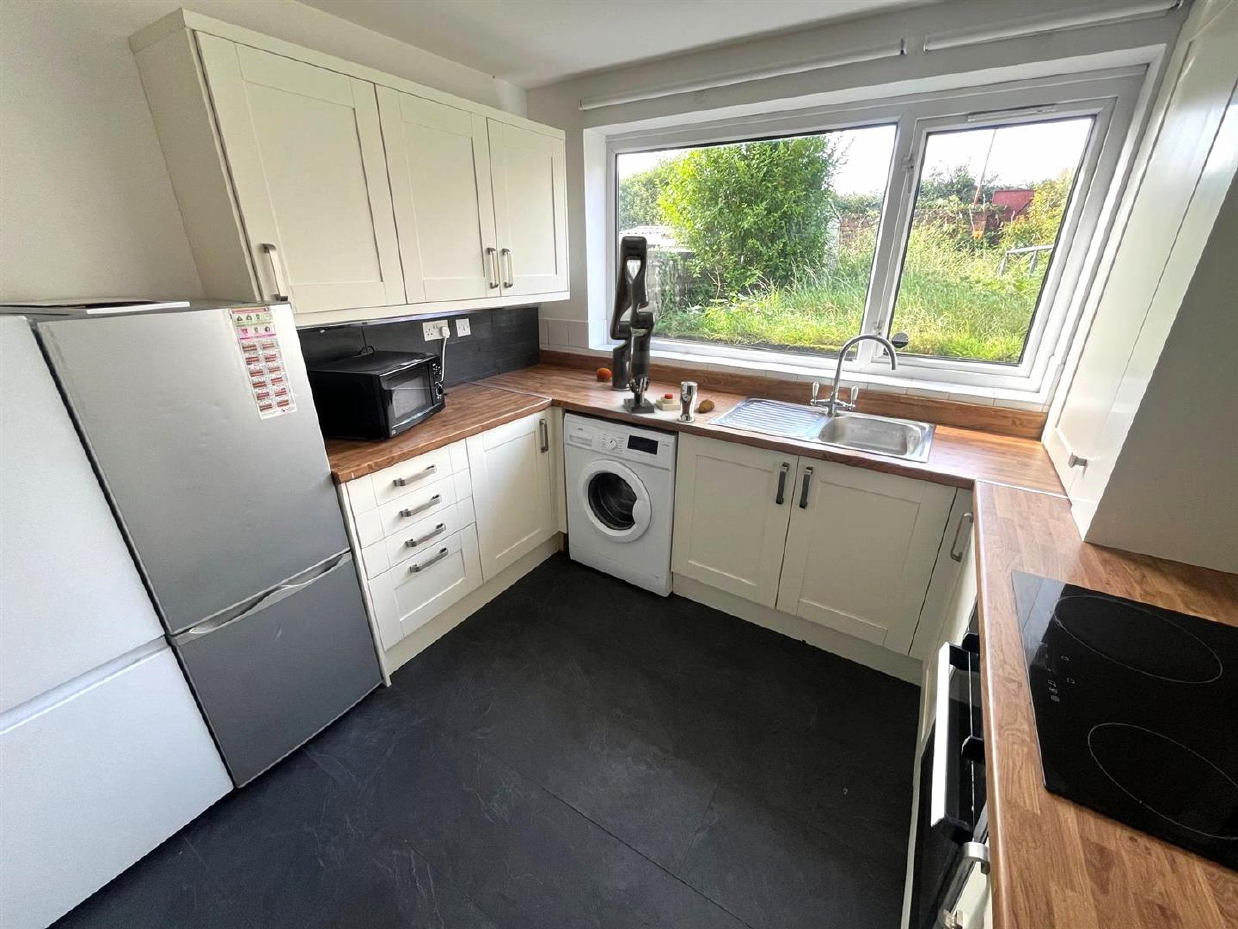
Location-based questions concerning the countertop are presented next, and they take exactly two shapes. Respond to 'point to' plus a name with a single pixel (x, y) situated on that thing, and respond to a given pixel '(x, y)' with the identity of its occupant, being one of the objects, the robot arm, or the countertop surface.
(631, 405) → the hob panel
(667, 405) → the ignition block
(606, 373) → the fruit
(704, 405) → the brown lumpy oval piece
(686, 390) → the beer glass
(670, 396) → the ignition button
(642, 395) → the knob
